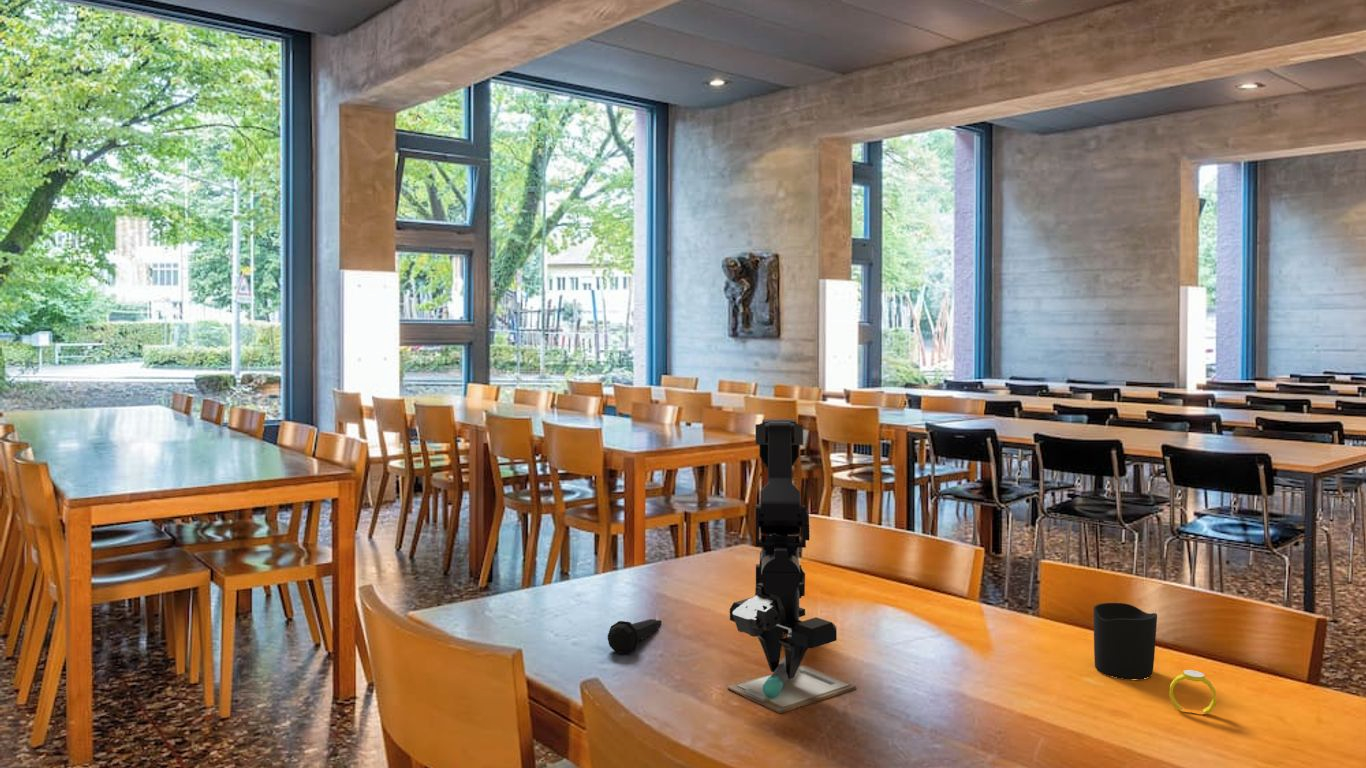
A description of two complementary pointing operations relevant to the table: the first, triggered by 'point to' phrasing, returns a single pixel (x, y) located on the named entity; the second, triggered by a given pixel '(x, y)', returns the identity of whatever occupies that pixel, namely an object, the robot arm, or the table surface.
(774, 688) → the marker
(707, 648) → the table surface
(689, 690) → the table surface
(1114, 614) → the pen holder
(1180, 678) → the watch
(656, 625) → the microphone
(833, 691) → the clipboard
